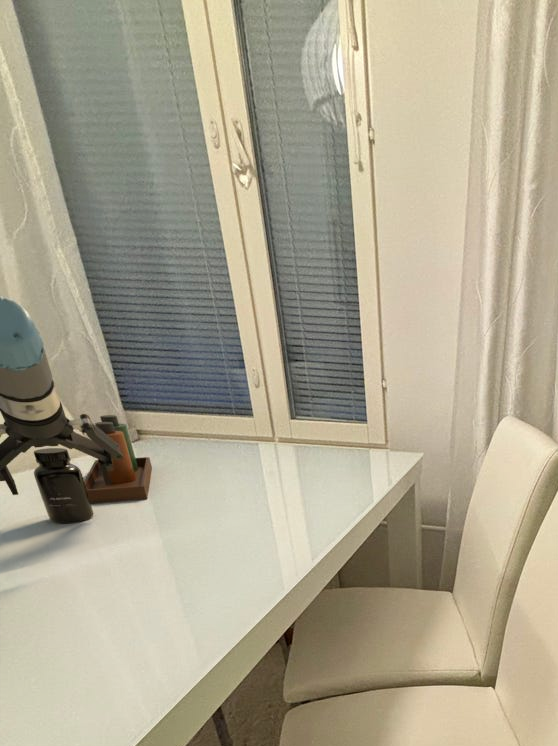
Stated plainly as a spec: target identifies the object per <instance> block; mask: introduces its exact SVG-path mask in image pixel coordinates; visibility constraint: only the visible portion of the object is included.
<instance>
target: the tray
mask: <svg viewBox="0 0 558 746" xmlns="http://www.w3.org/2000/svg"><path fill="white" fill-rule="evenodd" d="M135 458H136V462H137V465H138V470H137V471H134V473H135V476H136V480H134V481H132V482H127V483H119V484H111V483H110V484H111V485H106V484H105V481H104V478H103V475H102V472H101V469H100V465H99V461H98V459H95V460H94V461H93V464H92V465H91V467H90V469H89V471H88V473H87V475H86V477H85V478H84V479H83V480H84V483H85V486H86V490H87V493H88V496H89V499H90V503H91V504H102V503H114V502H127V501H138V500H147V499H148V496H149V490H150V485H151V484H150V483H151V479H152V471H153V466H152V462H151V459H150V457H148V456H146V457H135Z"/></svg>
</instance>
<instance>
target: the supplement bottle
mask: <svg viewBox="0 0 558 746" xmlns="http://www.w3.org/2000/svg"><path fill="white" fill-rule="evenodd" d="M33 455H34V457H35V462H36V463H37V464H38V466H37V467H36V468H35V469H34V471H33V476H34V479H35V482H36V486H37V488H38V491H39V493H40V496H41V499H42V502H43V505H44V508H45V511H46V513H47V516H48V518H49V520H50V521H51V522H53V523H57V524H74V523H79V522H85V521H88V520H90V519H92V518H93V517H94V514H95V513H94V509H93V507H92V503H90V499H89V496H88V493H87V490H86V486H85V483H84V480H85V479H84V476H83V474H82V471H81V469H80V468H79V467H78V466H77V465H75V464H74V463H73V464H72V463H71V457H70V454H69V451H68V448H61V447H48V448H40V449H36V450H34V451H33Z"/></svg>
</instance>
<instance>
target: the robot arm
mask: <svg viewBox="0 0 558 746" xmlns="http://www.w3.org/2000/svg"><path fill="white" fill-rule="evenodd" d="M0 414H1V416H2V418H3V420H4V422H3V423H0V438H1V437H2V436H3V435H4V434H6V435H7V437H6V438H5V439H4V440H3V441H1V443H0V482H5V484H6V485H7V487H8V488H9V490H10V492H11V495H12V496H17V495H19V492H18V488H17V484H16V481H15V479H14V477H13V476H12V474H11V472H10V470H9V468H8V465H9V464H10V463H11V462H13V460H15V458H17V457H18V456H19V455H20V454H21V453H23V454H24V453H27V451H29V450H30V449H31V448H32V447H34V448H36V449H37V448H44V447H59V445H60V446H62V447H64V448H66V449H69V450H73V449H74V450H77V451H79V452H81V453H82V454H86V455H88V456H90V457H92V458H95V459H96V460H98V461H99V465H100V469H101V472H102V475H103V478H104V481H105V484H106V485H111V484H110V480H109V477H108V473H107V471H113V469H114V467H113V462H112V460H113V459H114V458H116V459H123V454H122V452H121V449H120V446H119V444H118V443H116V442H115V441H114V440H113V439H111V438H110V437H109V436H108V435H107V434H105V433H104V432H103V431H102V430H100V429H99V428H98V427H97V426H96V425H95V423H93V422H92V420H91V418H90V415H89V414H86V413H82V414H80V416H79V417H80V419H69V418H68V417H66V413H65V411H64V407H63V404H62V401H61V398H60V394H59V392H58V389H57V386H56V382H55V379H54V377H53V374H52V370H51V367H50V364H49V360H48V357H47V353H46V350H45V346H44V342H43V338H42V336H41V335H40V332H39V330H38V328H37V326H36V324H35V322H34V320H33V318H32V316H31V315H30V313H29V312H28V311H27V310H26V309H25V308H24V306H23V305H21V304H20V303H18V302H16V301H14V300H11V299H8V298H5V297H4V296H2V295H0ZM74 430H78V432H80V433H82V434H80V433H77V432H76V431H74ZM86 436H87V437H86Z"/></svg>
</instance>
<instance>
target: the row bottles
mask: <svg viewBox="0 0 558 746" xmlns="http://www.w3.org/2000/svg"><path fill="white" fill-rule="evenodd" d="M99 418H100V421H99V422H95V423H94V425H95V426H97V427H98V428H99V429H100V430H102V431H103V432H104V433H105V434H107V435H108V436H109V437H110V438H111V439H113V440H114V441H115V442H116V443H118V444H119V446H120V449H121V452H122V454H123V459H116V458H114V459H113V460H112V462H113V467H114V469H113V471H107V473H108V477H109V480H110V483H111V484H119V483H127V482H132V481H134V480H136V476H135V473H134V471H137V470H138V465H137V462H136V458H137V457H136V455H135V452H134V447H133V445H132V440H131V436H130V432H129V429H128V426H127V424H125V423H120V422H119V419H118V415H115V414H105V415H100V416H99Z"/></svg>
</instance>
